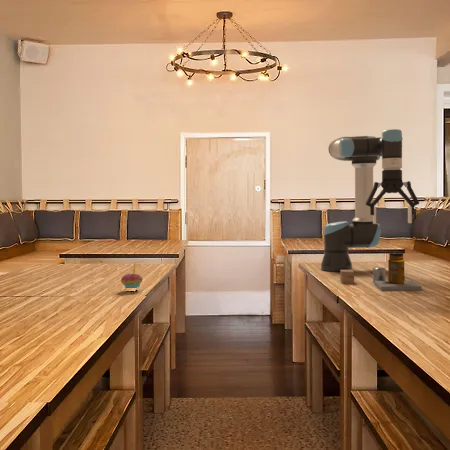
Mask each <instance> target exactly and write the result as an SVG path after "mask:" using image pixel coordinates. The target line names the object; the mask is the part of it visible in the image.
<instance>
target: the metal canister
mask: <svg viewBox="0 0 450 450" xmlns="http://www.w3.org/2000/svg"><path fill="white" fill-rule="evenodd" d="M374 281H387V280H386V267H381V266H379V267H378V266H377V267H376V266H375V267H372V283H373V284H374Z"/></svg>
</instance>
